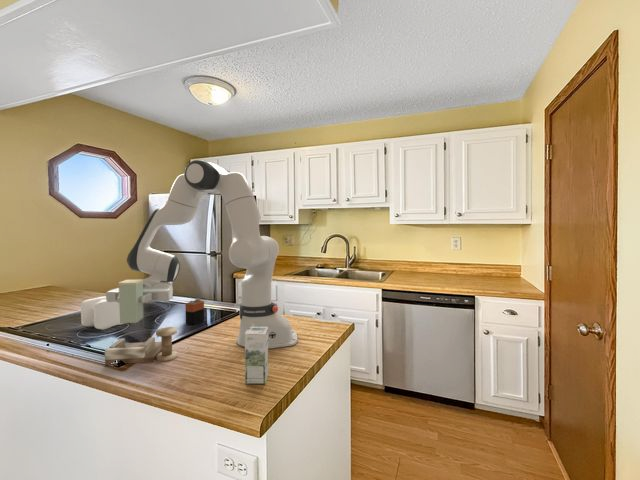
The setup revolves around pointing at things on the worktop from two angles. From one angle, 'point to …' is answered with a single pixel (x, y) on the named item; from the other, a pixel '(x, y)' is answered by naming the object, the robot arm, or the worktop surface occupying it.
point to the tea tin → (130, 301)
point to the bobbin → (166, 344)
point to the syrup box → (256, 355)
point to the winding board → (133, 351)
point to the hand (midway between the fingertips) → (130, 300)
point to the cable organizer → (100, 313)
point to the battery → (194, 312)
